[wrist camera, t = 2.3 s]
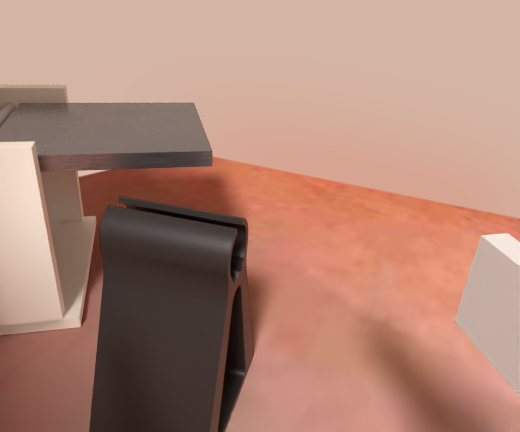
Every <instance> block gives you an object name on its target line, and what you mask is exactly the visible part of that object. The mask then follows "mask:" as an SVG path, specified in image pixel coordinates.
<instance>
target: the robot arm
mask: <svg viewBox="0 0 520 432" xmlns="http://www.w3.org/2000/svg"><path fill="white" fill-rule="evenodd" d="M454 322H455V323H456V324H457V325H458V326H459V328H460V329H461V330H462V331H463V332H464V333H465V334H466V336H467V337H468V338H469V339H470V340H471V341H472V342H473V343H474V345H475V346H476V347H477V348H478V349H479V350H480V351H481V353H482V354H483V355H484V356H485V357H486V358H487V359H488V360H489V362H490V363H491V364H492V365H493V366H494V367H495V368H496V370H497V371H498V372H499V373H500V374H501V375H502V376H503V378H504V379H505V380H506V381H507V382H508V383H509V384H510V385H511V387H512V388H513V389H514V390H515V391H516V392H517V393H518V395H519V396H520V242H519V241H517V240H516V239H515V238H513V237H512V236H511V235H509V234H508V233H505V234H493V235H481V237H480V241H479V244H478V247H477V250H476V254H475V257H474V260H473V263H472V266H471V270H470V273H469V276H468V279H467V282H466V286H465V289H464V292H463V295H462V299H461V302H460V305H459V308H458V311H457V315H456V318H455V321H454Z"/></svg>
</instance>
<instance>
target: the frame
mask: <svg viewBox="0 0 520 432" xmlns="http://www.w3.org/2000/svg"><path fill="white" fill-rule="evenodd" d="M19 103H68V97H67V90H66V85H0V127H1V126H2V125H3V123H4V122H5V121H6V120H7V118H8V117H9V116H10V115H11V113H12V112H13V111H14V110H15V108H16V107H17V106H18V105H19ZM96 224H97V223H96V216H84V213H83V206H82V199H81V192H80V184H79V177H78V170H77V171H46V172H40V167H39V162H38V156H37V150H36V145H35V141H28V142H0V335H10V334H19V333H29V332H39V331H48V330H58V329H68V328H77V327H81V322H82V315H83V309H84V302H85V296H86V289H87V283H88V276H89V269H90V263H91V256H92V250H93V243H94V237H95V230H96Z"/></svg>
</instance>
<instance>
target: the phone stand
mask: <svg viewBox="0 0 520 432" xmlns="http://www.w3.org/2000/svg"><path fill="white" fill-rule="evenodd" d="M119 203H124V204H125V205H126V206H127V208H128V209H127V208H122V207H116V206H111V205H108V207H107V209H106V211H105V213H104V215H103V218H102V221H101V225H100V230H99V246H100V250H101V254H102V259H103V271H104V274H103V289H102V300H101V310H100V321H99V332H98V343H97V354H96V365H95V375H94V386H93V397H92V408H91V419H90V429H89V432H225V430H226V428H227V425H228V422H229V420H230V417H231V413H232V411H233V409H234V407H235V404H236V401H237V399H238V396H239V393H240V391H241V388H242V385H243V383H244V380H245V377H246V375H247V372H248V369H249V367H250V364H251V361H252V358H253V354H254V349H253V337H252V326H251V315H250V304H249V292H248V281H247V270H246V254H247V242H248V223H247V220H246V219H245V218H240V217H235V216H229V215H223V214H218V213H212V212H206V211H201V210H195V209H190V208H184V207H178V206H173V205H167V204H162V203H156V202H150V201H145V200H139V199H134V198H128V197H122V196H120V197H119Z"/></svg>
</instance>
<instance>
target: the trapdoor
mask: <svg viewBox="0 0 520 432" xmlns="http://www.w3.org/2000/svg"><path fill="white" fill-rule="evenodd" d="M28 141H35V145H36V150H37V156H38V162H39V167H40V172H46V171H77V170H108V169H139V168H169V167H200V166H212V149H211V146H210V144H209V141H208V139H207V136H206V133H205V131H204V128H203V125H202V123H201V120H200V118H199V115H198V113H197V110H196V107H195V105H194V103H19V105H18V106H17V107H16V108H15V110H14V111H13V112H12V113H11V115H10V116H9V117H8V118H7V120H6V121H5V122H4V123H3V125H2V126H1V127H0V142H28Z"/></svg>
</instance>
